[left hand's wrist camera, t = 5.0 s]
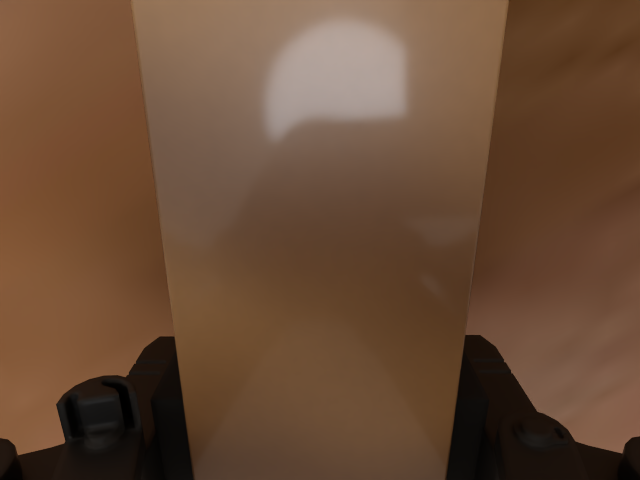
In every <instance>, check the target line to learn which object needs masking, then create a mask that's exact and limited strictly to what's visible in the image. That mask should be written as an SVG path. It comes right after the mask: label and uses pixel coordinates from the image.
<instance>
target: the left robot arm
mask: <svg viewBox="0 0 640 480" xmlns="http://www.w3.org/2000/svg"><path fill="white" fill-rule="evenodd" d="M56 406H57V410H58V413H59V417H60V421H61V425H62V429H63V433H64V437H65V443H64V444H61V445H58V446H55V447H52V448H47V449H43V450H39V451H35V452H31V453H26V454H22V455H18V454H17V451H16V448H15V445H14V444H12V443H11V442H10V441H9V440H7V439H2V438H0V480H193V472H192V465H191V457H190V450H189V442H188V435H187V427H186V419H185V412H184V404H183V397H182V389H181V381H180V374H179V366H178V359H177V351H176V344H175V337H159V338H157V339H156V340H155V341H153V342H152V343H151V344H149V345H148V346H147V347H145V348H144V350H143V351H142V353H141V354H140V356H139V358H138V359H137V361H136V364H134V365H133V367H132V368H131V370H130V372H129V375H127V376H126V377H122V376H118V375H112V376H101V377H97V378H93V379H89V380H87V381H85V382H82V383H80V384H78V385H76V386H74V387H73V388H72V389H70V390H69V391H68V392H66V393H65V394H64V395H63V396H62V397H61V399H60V400H59V401H58V403H57V404H56ZM446 480H640V436H639V437H633V438H631V439H630V440H629V441H628V442H627V443H626V444H625V447H624V450H623V453H617V452H613V451H609V450H605V449H600V448H596V447H592V446H588V445H585V444H581V443H578V442H575V440H574V439H573V437H572V436H571V434H570V432H569V431H568V430H567V429H566V428H565V427H564V426H563V425H561V424H560V423H559V422H558V421H557V420H555V419H553V418H551V417H549V416H547V415H545V414H543V413H539V412H537V411H536V409H535V408H534V406H533V404H532V403H531V401H530V400H529V398H528V397H527V395H526V393H525V392H524V390H523V389H522V387H521V386H520V384H519V383H518V381H517V379H516V378H515V376H514V375H513V374H511V370H510V369H509V367H508V365H507V364H506V362H504V359H503V358H502V356H501V355H500V353H499V351H498V350H497V348H496V347H495V346H494V345H493V344H491V343H490V342H489V341H487V340H486V339H485V338H483V337H482V336H481V335H465V340H464V348H463V355H462V363H461V370H460V378H459V386H458V393H457V401H456V409H455V416H454V424H453V431H452V439H451V447H450V454H449V462H448V469H447V477H446Z"/></svg>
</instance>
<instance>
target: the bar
mask: <svg viewBox="0 0 640 480" xmlns="http://www.w3.org/2000/svg"><path fill="white" fill-rule="evenodd" d="M130 2H131V10H132V17H133V25H134V33H135V40H136V48H137V55H138V63H139V71H140V78H141V86H142V93H143V101H144V108H145V116H146V124H147V131H148V139H149V146H150V154H151V162H152V169H153V177H154V184H155V192H156V199H157V207H158V215H159V222H160V230H161V237H162V245H163V253H164V260H165V268H166V275H167V283H168V290H169V298H170V306H171V313H172V321H173V328H174V336H175V344H176V351H177V359H178V366H179V374H180V381H181V389H182V397H183V404H184V412H185V419H186V427H187V435H188V442H189V450H190V457H191V465H192V472H193V480H446V477H447V469H448V462H449V454H450V447H451V439H452V431H453V424H454V416H455V409H456V401H457V393H458V386H459V378H460V370H461V363H462V355H463V348H464V340H465V332H466V325H467V317H468V310H469V302H470V294H471V287H472V279H473V272H474V264H475V256H476V249H477V241H478V234H479V226H480V218H481V211H482V203H483V195H484V188H485V180H486V173H487V165H488V157H489V150H490V142H491V135H492V127H493V119H494V112H495V104H496V97H497V89H498V81H499V74H500V66H501V59H502V51H503V43H504V36H505V28H506V20H507V13H508V5H509V0H130Z"/></svg>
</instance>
